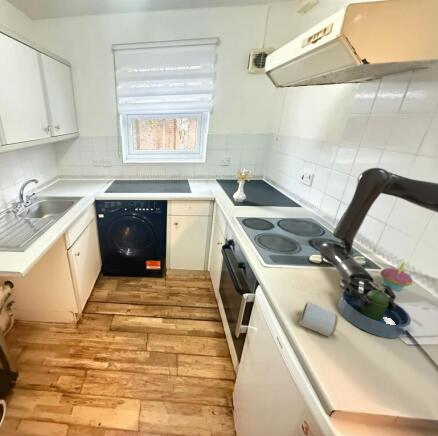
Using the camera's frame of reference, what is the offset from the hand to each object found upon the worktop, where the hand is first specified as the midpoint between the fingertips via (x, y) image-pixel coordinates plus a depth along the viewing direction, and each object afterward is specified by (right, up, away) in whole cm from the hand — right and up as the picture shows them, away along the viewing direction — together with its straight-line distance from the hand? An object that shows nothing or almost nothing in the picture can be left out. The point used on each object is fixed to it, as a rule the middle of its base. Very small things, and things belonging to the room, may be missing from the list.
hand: (380, 306), depth 72 cm
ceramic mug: (-19, -7, +2) cm, 20 cm away
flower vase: (+1, +40, +113) cm, 120 cm away
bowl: (+1, -6, +5) cm, 7 cm away
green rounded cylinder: (+1, -5, +5) cm, 6 cm away
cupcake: (+23, 0, +19) cm, 30 cm away
